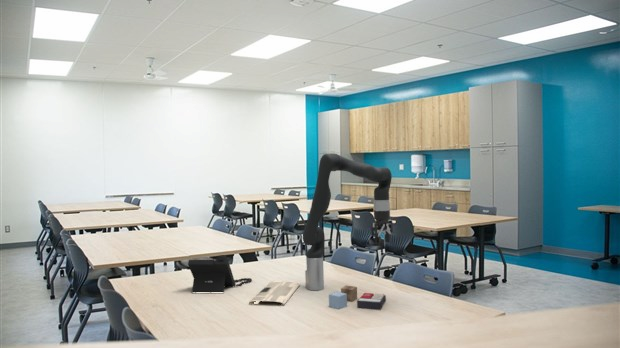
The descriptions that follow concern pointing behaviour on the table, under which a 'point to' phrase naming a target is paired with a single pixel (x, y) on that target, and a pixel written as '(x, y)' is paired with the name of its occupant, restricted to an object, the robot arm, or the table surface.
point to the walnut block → (350, 292)
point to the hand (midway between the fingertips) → (382, 243)
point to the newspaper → (276, 292)
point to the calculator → (371, 301)
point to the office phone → (213, 275)
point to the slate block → (337, 300)
